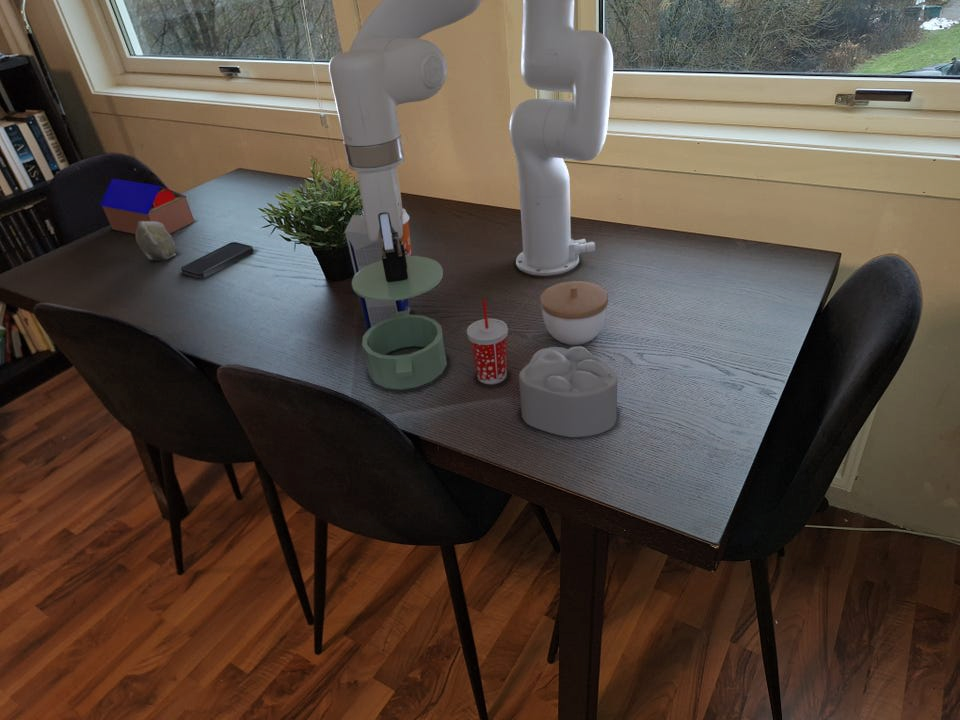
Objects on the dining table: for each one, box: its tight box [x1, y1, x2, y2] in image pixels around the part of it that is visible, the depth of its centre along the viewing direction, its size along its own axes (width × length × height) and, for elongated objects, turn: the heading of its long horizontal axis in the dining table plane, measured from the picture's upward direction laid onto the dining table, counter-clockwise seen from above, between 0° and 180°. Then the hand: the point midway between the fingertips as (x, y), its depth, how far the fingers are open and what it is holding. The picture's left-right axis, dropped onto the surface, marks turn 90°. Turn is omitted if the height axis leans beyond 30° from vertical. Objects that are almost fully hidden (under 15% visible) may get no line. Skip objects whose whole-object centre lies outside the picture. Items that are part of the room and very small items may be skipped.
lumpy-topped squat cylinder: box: [518, 345, 618, 438], centre depth 91 cm, size 10×13×9 cm
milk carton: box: [344, 214, 411, 330], centre depth 113 cm, size 7×7×20 cm
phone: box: [180, 241, 254, 279], centre depth 148 cm, size 8×1×15 cm
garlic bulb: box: [134, 221, 177, 262], centre depth 152 cm, size 9×8×10 cm
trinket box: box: [540, 280, 609, 346], centre depth 107 cm, size 11×11×9 cm
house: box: [99, 178, 196, 235], centre depth 169 cm, size 12×20×12 cm, turn 59°
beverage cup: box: [466, 298, 509, 385], centre depth 98 cm, size 6×6×14 cm
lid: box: [351, 242, 444, 301], centre depth 97 cm, size 14×14×6 cm
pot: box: [361, 310, 448, 390], centre depth 105 cm, size 13×18×6 cm
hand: (397, 274), depth 98 cm, fingers closed on lid, 2 cm apart
